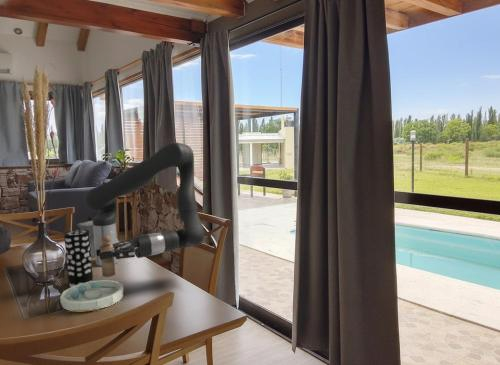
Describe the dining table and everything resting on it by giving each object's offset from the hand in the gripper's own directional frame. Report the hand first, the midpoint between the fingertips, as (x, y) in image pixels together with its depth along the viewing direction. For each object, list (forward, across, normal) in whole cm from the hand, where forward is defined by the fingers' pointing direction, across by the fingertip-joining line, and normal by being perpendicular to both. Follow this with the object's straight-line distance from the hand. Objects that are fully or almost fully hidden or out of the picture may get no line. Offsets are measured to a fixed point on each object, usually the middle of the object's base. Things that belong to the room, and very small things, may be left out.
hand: (98, 254), depth 128 cm
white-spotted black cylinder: (+3, -19, +16) cm, 25 cm away
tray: (+2, -3, +16) cm, 16 cm away
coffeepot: (-10, -56, +16) cm, 60 cm away
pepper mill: (-3, 0, +8) cm, 8 cm away
